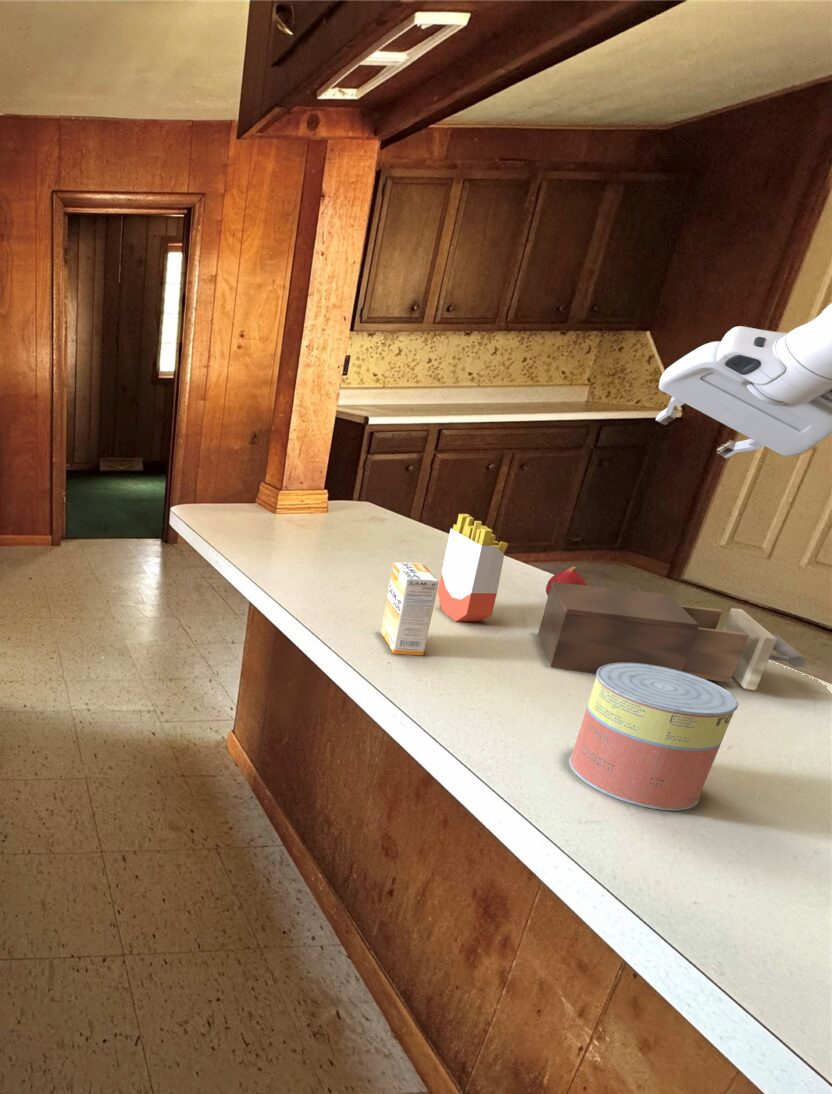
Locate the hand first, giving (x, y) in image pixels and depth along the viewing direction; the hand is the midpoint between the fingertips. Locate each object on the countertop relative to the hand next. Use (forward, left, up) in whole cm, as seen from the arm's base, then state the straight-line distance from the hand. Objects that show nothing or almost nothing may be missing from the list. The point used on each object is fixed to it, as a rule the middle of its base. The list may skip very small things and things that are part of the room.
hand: (690, 436), depth 100 cm
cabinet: (-2, +16, -32) cm, 36 cm away
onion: (+11, -2, -32) cm, 34 cm away
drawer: (-12, +11, -31) cm, 35 cm away
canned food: (-17, +48, -32) cm, 61 cm away
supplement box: (+18, +36, -32) cm, 52 cm away
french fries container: (+19, +16, -32) cm, 41 cm away
